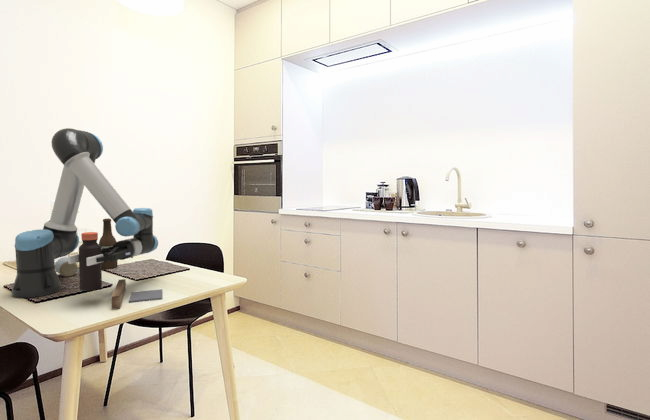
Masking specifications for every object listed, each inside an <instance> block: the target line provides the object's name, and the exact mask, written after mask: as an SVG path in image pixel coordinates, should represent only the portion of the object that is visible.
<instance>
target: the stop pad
mask: <svg viewBox="0 0 650 420" xmlns="http://www.w3.org/2000/svg"><path fill="white" fill-rule="evenodd" d="M149 300H150V301H156V300H157V301H158V300H163V289H153V290H150V289H149V290H140V291H131V292H130V295H129V300H128V303H129V304H130V303H139V302H140V301H141V302H148V301H149Z"/></svg>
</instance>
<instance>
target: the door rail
mask: <svg viewBox="0 0 650 420" xmlns="http://www.w3.org/2000/svg"><path fill="white" fill-rule="evenodd" d="M126 291H127V279H126V278H125V279H124V278H123V279H118V281H117V283H116V285H115V288H114V289H113V292H112V294H111V310H118V309H119V310H120V309H121V307H122V306H121V305H122V304H123V300H124V297H125V294H126V293H127V292H126Z"/></svg>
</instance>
